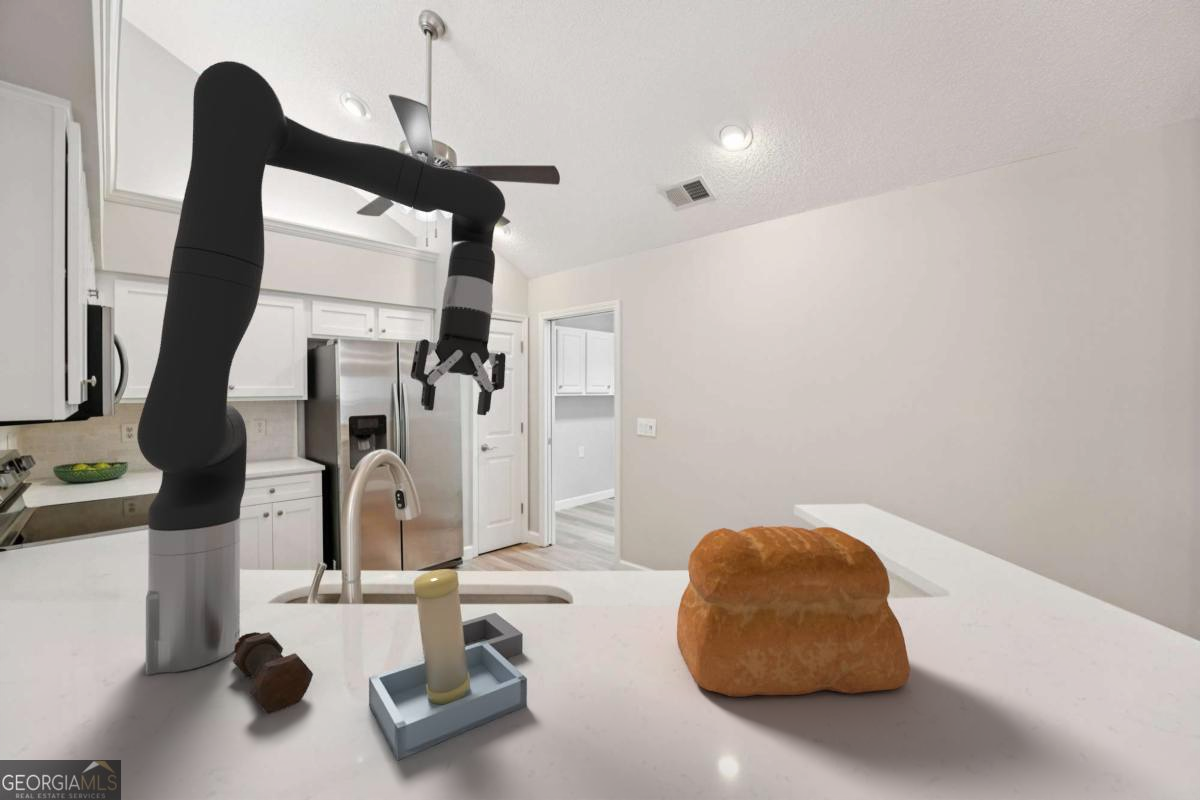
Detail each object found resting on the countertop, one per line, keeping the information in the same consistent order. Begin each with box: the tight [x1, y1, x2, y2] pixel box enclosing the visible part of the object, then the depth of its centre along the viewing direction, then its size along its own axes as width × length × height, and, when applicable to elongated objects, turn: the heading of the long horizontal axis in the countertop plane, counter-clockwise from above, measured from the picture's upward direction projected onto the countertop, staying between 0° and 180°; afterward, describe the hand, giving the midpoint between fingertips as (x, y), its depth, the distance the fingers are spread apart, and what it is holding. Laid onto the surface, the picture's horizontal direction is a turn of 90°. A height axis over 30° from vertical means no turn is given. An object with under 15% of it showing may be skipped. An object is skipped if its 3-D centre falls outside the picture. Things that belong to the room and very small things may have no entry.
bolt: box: [232, 631, 314, 714], centre depth 59 cm, size 6×5×15 cm
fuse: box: [413, 568, 470, 704], centre depth 55 cm, size 5×5×13 cm
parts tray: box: [368, 640, 528, 761], centre depth 54 cm, size 14×11×3 cm
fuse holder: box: [462, 612, 524, 659], centre depth 66 cm, size 10×8×2 cm
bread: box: [676, 525, 911, 697], centre depth 63 cm, size 16×26×17 cm, turn 94°
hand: (455, 412), depth 78 cm, fingers open, 8 cm apart
